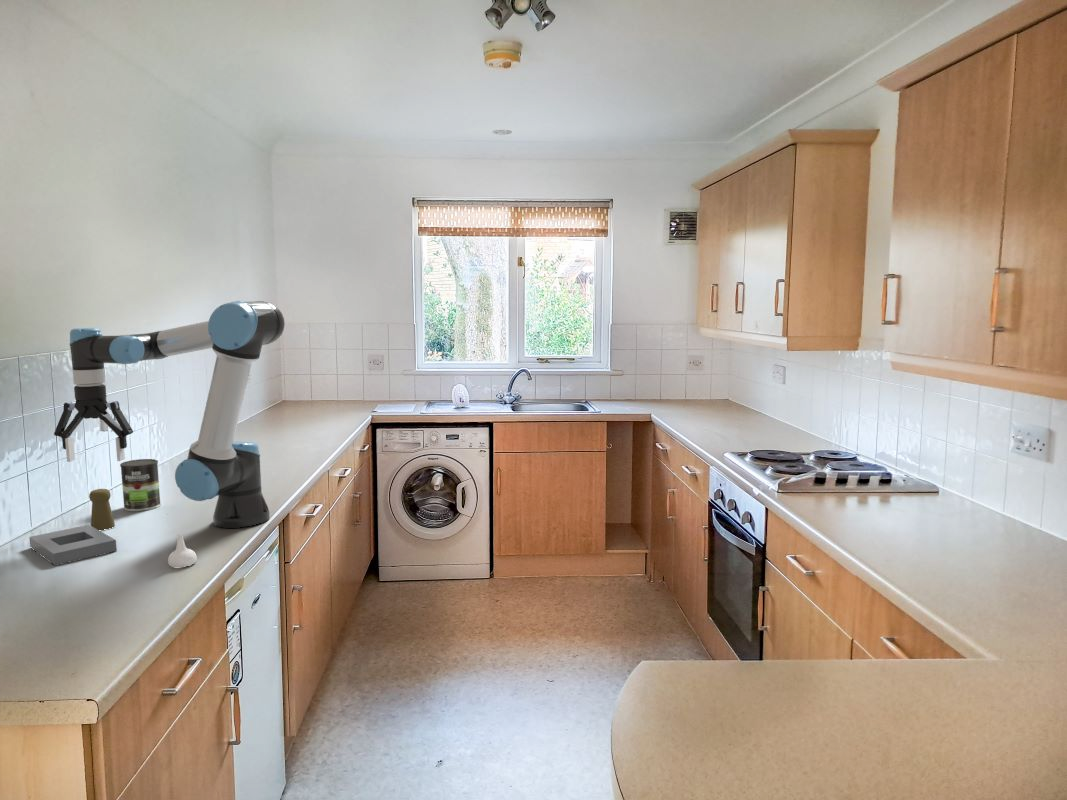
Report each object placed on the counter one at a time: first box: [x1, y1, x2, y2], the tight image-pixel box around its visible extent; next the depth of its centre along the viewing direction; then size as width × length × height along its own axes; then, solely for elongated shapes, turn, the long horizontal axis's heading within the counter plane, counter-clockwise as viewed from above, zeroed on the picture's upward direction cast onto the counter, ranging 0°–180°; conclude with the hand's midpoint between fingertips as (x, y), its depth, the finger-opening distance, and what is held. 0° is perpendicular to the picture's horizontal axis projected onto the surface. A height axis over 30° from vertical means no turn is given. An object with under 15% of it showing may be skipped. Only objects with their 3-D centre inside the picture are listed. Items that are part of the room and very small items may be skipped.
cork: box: [88, 488, 116, 531], centre depth 218 cm, size 6×6×11 cm
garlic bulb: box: [167, 532, 198, 568], centre depth 187 cm, size 6×6×8 cm
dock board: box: [29, 524, 118, 566], centre depth 199 cm, size 20×14×3 cm
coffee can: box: [120, 458, 162, 512], centre depth 238 cm, size 10×10×14 cm
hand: (96, 460), depth 216 cm, fingers open, 13 cm apart
